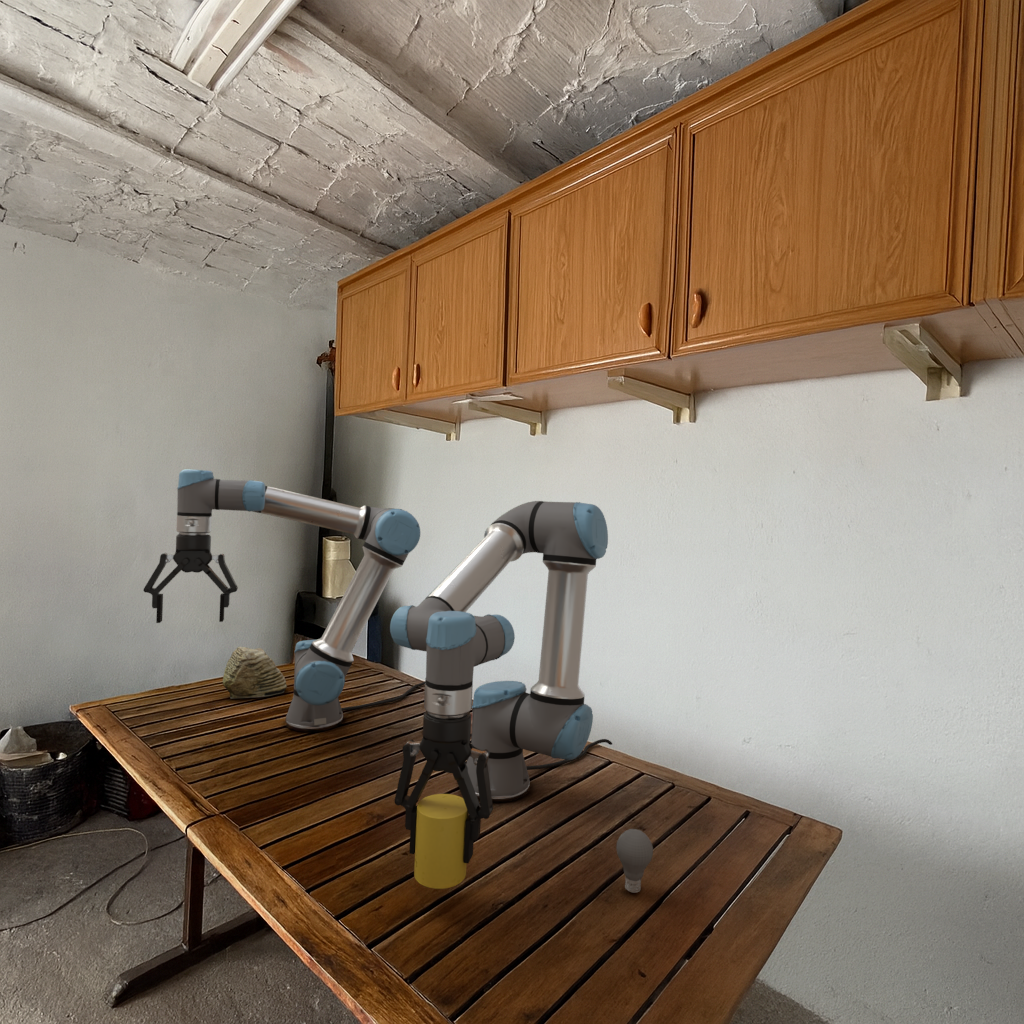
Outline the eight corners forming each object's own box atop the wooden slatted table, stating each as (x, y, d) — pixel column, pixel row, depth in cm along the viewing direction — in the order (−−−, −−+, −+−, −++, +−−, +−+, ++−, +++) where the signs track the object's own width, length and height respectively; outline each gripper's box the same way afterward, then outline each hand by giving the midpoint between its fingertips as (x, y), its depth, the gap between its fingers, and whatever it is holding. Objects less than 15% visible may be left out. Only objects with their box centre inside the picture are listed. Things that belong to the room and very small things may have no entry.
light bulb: (610, 879, 108) (613, 822, 108) (644, 879, 109) (647, 822, 109) (619, 902, 102) (622, 840, 102) (655, 901, 103) (658, 840, 103)
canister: (476, 877, 100) (479, 809, 99) (431, 895, 94) (434, 823, 94) (447, 853, 106) (450, 789, 106) (404, 869, 101) (407, 802, 101)
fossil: (218, 695, 195) (220, 647, 195) (278, 685, 208) (279, 640, 207) (228, 703, 189) (230, 653, 188) (289, 692, 201) (290, 645, 201)
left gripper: (131, 533, 145) (128, 625, 146) (248, 535, 153) (245, 623, 154) (138, 531, 152) (136, 619, 153) (250, 533, 160) (247, 617, 161)
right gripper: (375, 710, 98) (369, 855, 99) (507, 727, 94) (500, 878, 94) (394, 696, 106) (388, 831, 106) (517, 711, 101) (511, 852, 102)
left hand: (190, 621), depth 153 cm, fingers open, 13 cm apart
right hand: (441, 853), depth 100 cm, fingers closed on canister, 8 cm apart
